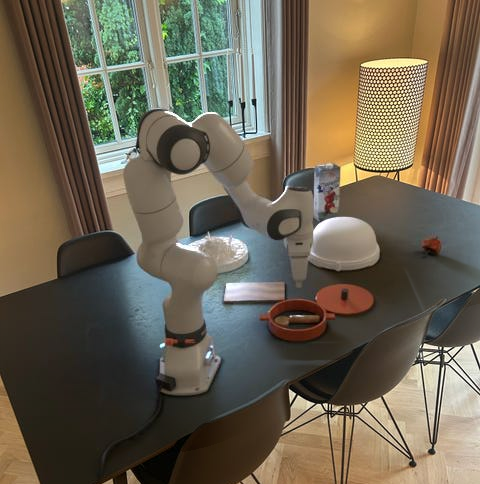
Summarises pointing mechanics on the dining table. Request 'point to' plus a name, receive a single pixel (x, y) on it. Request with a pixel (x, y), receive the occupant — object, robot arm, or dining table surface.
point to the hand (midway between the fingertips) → (298, 279)
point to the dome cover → (344, 244)
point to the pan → (297, 305)
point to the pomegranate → (431, 246)
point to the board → (254, 292)
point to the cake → (223, 251)
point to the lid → (345, 299)
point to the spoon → (296, 319)
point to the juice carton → (326, 191)
